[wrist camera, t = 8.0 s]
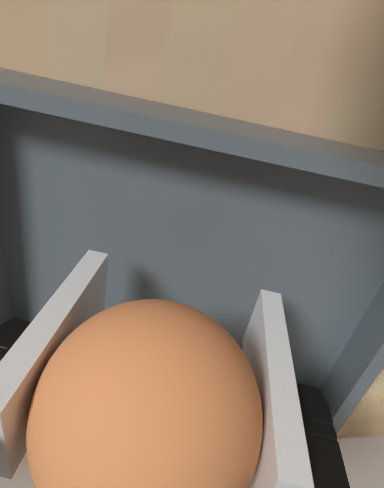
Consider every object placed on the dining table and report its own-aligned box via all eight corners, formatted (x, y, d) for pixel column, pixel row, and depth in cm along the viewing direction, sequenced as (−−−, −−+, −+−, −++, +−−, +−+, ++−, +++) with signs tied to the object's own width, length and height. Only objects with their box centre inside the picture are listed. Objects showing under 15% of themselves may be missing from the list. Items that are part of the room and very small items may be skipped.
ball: (89, 239, 10) (-69, 428, 5) (281, 283, 10) (325, 524, 5) (84, 369, 13) (-17, 571, 8) (233, 404, 13) (228, 633, 8)
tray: (12, 318, 19) (-21, 356, 17) (-18, 64, 13) (-79, 65, 10) (321, 388, 19) (333, 438, 16) (453, 167, 12) (506, 194, 10)
